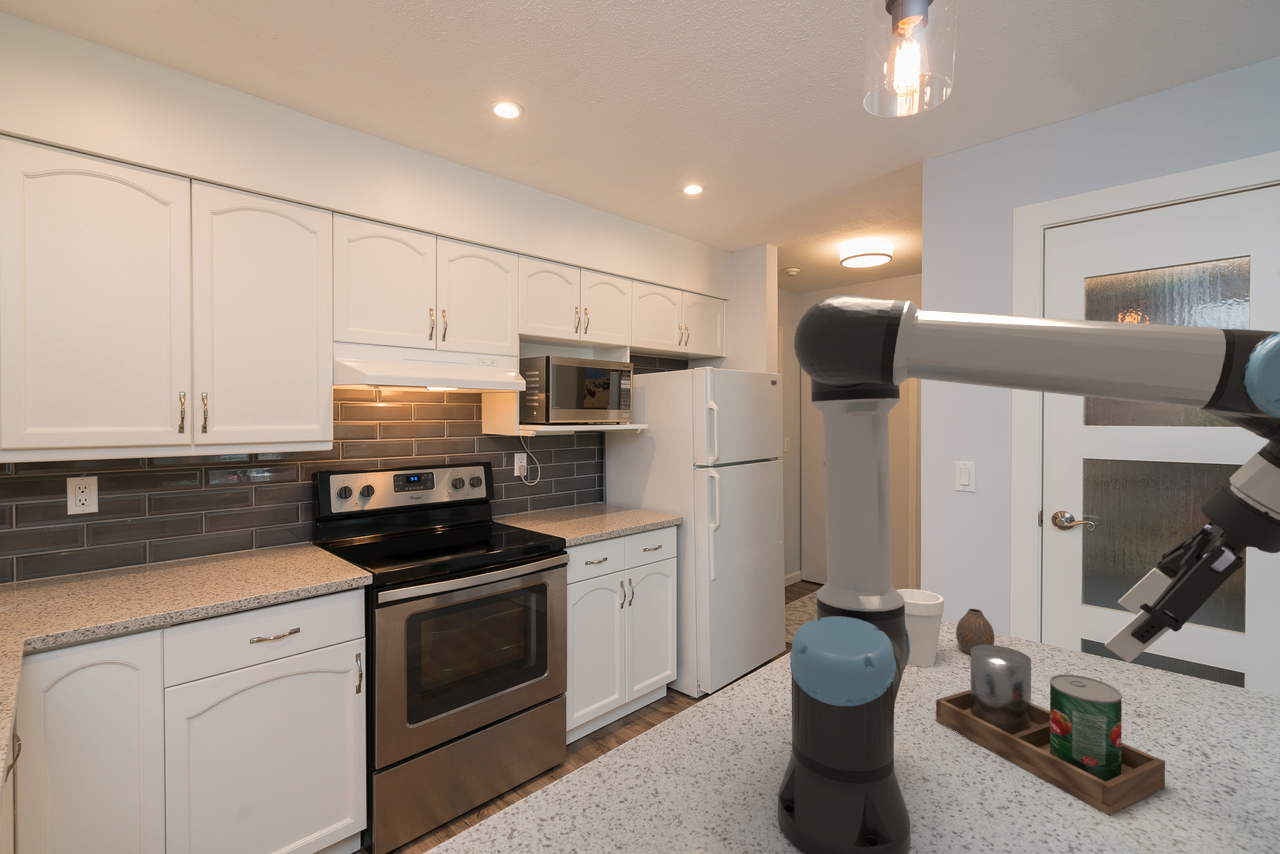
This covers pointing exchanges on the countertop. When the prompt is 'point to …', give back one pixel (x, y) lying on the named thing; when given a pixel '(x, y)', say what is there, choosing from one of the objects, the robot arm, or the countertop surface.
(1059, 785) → the wooden divided tray
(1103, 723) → the canned tomato
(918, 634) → the foam cup
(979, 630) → the vase
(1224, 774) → the countertop surface
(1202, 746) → the countertop surface
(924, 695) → the countertop surface
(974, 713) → the seated cylinder
